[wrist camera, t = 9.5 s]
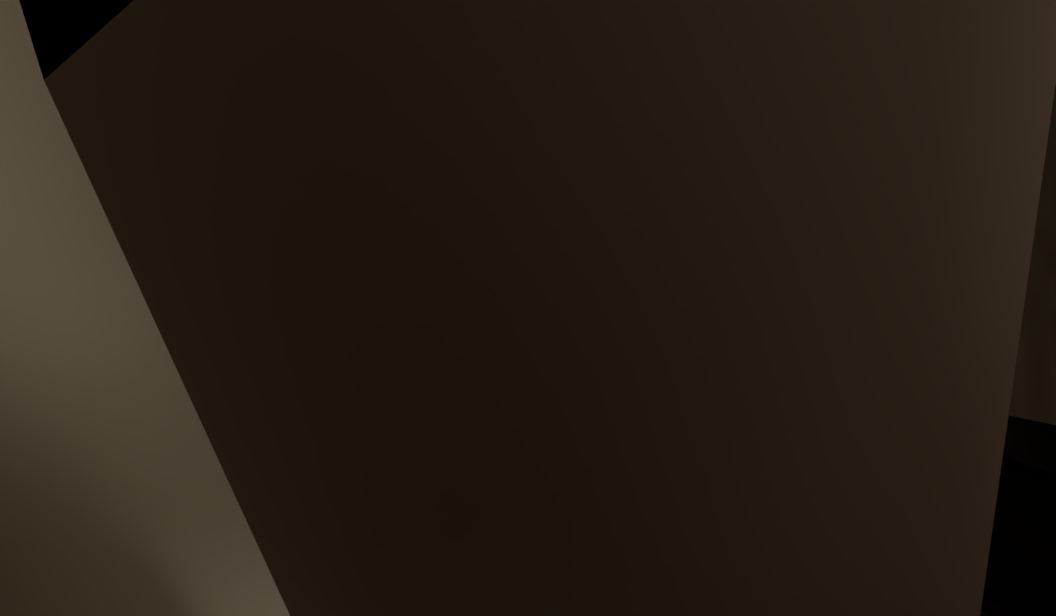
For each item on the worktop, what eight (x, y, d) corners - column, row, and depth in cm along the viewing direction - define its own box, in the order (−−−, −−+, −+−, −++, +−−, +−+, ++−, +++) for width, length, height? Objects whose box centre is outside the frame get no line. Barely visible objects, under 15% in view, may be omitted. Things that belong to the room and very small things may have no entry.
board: (815, -155, 12) (1048, -237, 8) (817, 521, 18) (947, 641, 14) (-431, 60, 8) (-1006, 81, 4) (124, 815, 14) (73, 1072, 11)
